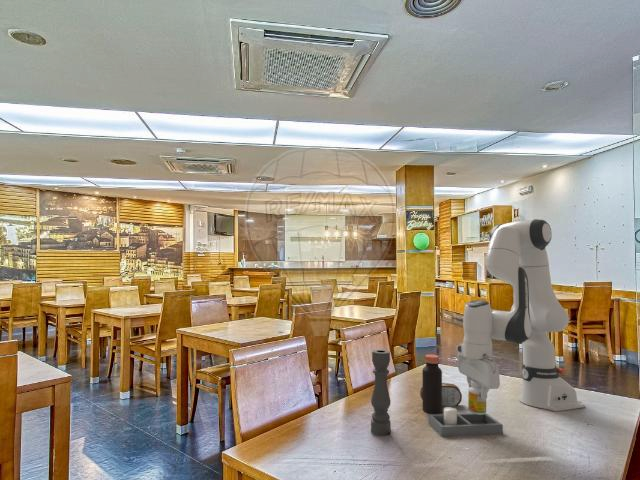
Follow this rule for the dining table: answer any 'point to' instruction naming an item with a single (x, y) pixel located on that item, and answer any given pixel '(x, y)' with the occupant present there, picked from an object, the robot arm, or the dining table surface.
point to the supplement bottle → (476, 399)
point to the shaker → (450, 416)
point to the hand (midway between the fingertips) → (477, 394)
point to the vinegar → (432, 385)
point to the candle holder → (380, 394)
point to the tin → (448, 394)
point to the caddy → (466, 425)
